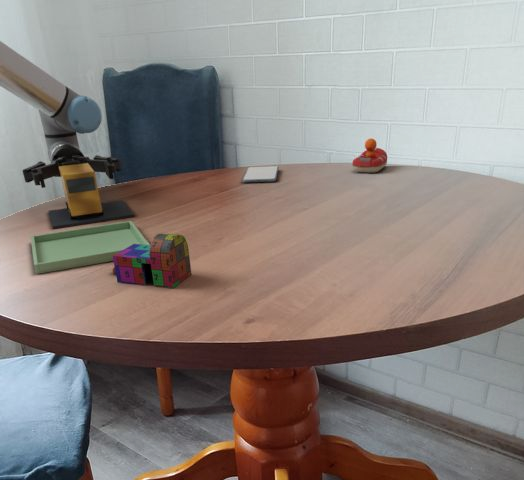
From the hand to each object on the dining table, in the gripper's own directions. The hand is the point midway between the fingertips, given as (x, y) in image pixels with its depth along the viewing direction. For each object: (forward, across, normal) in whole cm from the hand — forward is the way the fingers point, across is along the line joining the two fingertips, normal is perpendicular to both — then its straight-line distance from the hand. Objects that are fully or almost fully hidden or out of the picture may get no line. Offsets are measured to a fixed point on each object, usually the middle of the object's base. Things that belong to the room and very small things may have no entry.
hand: (77, 176), depth 110 cm
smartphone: (-14, -46, -8) cm, 49 cm away
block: (+42, -5, -8) cm, 43 cm away
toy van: (0, 0, -8) cm, 8 cm away
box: (+24, +2, -8) cm, 25 cm away
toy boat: (-6, -73, -8) cm, 74 cm away
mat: (0, -1, -8) cm, 8 cm away
